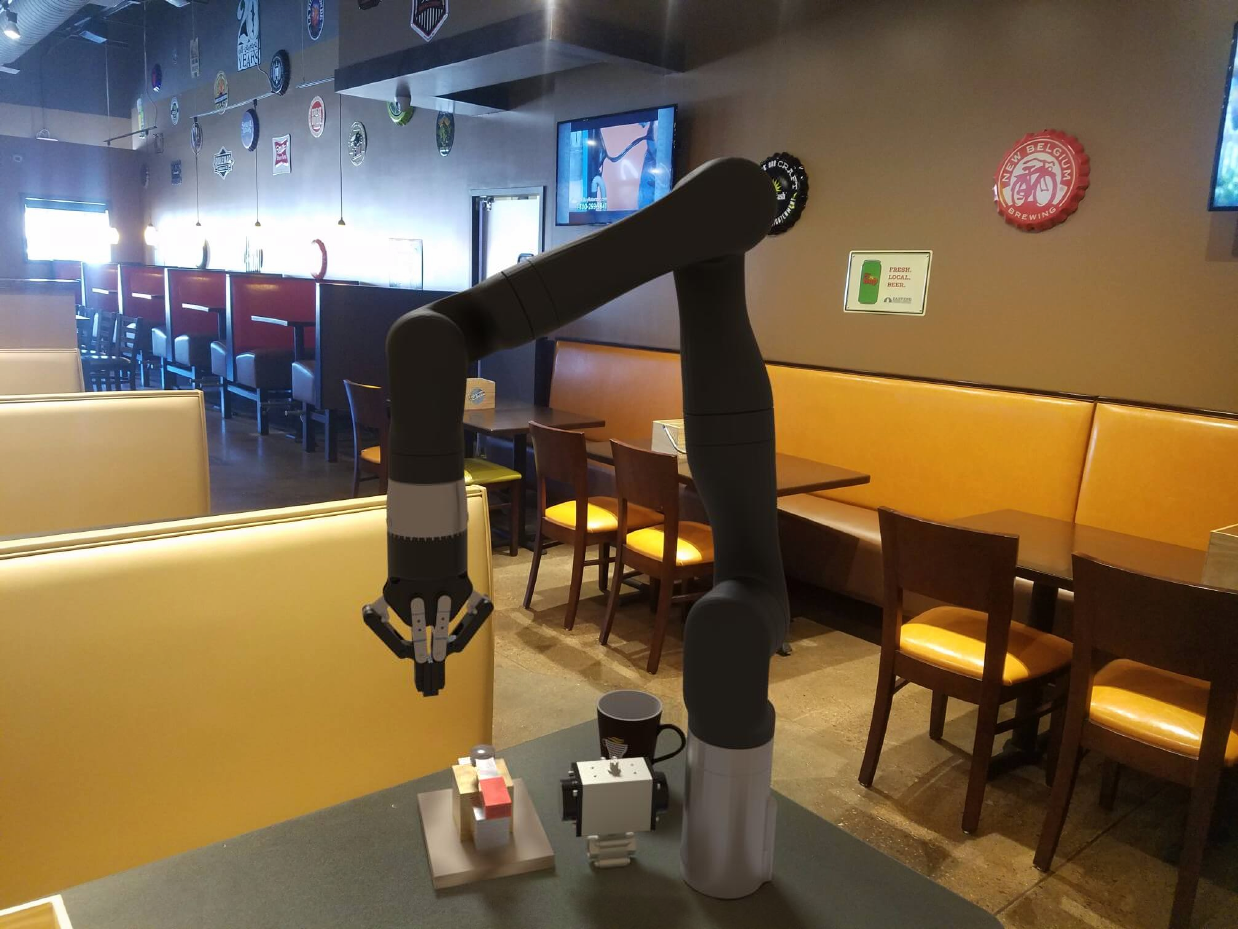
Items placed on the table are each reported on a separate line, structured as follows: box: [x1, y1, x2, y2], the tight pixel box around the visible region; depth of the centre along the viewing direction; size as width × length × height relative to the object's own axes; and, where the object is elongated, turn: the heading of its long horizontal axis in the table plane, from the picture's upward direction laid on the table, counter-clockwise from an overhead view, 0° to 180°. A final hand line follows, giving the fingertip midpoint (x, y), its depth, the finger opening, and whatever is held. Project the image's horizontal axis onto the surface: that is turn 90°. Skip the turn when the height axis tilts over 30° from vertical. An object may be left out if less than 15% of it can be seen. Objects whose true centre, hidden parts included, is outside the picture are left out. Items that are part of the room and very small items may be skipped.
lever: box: [469, 744, 511, 820], centre depth 94 cm, size 12×3×2 cm, turn 17°
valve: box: [451, 756, 514, 858], centre depth 100 cm, size 6×13×7 cm, turn 19°
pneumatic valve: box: [557, 756, 670, 869], centre depth 97 cm, size 6×12×12 cm, turn 101°
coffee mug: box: [596, 689, 687, 768], centre depth 112 cm, size 12×9×10 cm
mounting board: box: [416, 777, 555, 890], centre depth 101 cm, size 13×16×2 cm
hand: (429, 693), depth 86 cm, fingers closed
